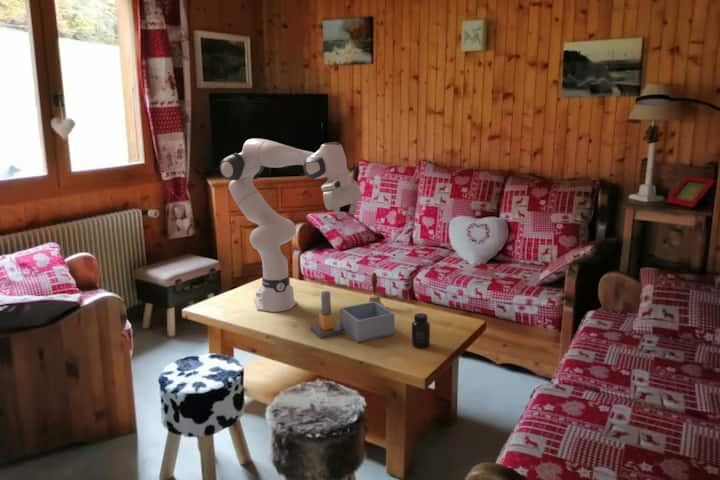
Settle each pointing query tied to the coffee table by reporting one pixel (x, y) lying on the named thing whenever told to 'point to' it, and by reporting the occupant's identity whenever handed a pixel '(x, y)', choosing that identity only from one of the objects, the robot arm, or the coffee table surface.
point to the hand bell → (374, 296)
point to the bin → (367, 321)
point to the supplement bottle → (420, 331)
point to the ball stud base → (326, 333)
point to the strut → (326, 312)
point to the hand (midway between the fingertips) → (347, 216)
